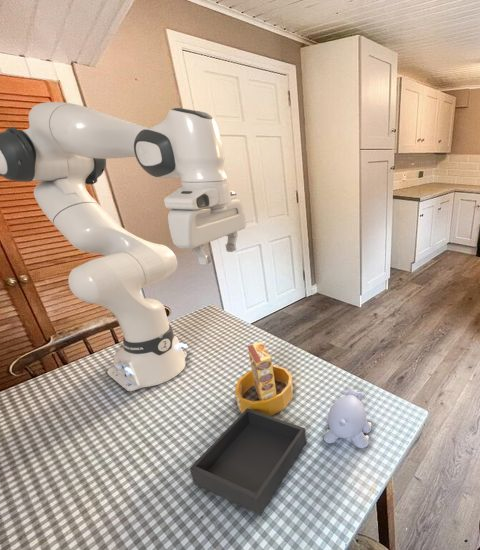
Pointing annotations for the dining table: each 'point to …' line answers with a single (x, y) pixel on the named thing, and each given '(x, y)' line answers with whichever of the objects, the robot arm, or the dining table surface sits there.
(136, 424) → the dining table surface
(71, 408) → the dining table surface
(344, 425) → the hippopotamus toy
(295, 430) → the bin
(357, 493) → the dining table surface
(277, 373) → the ring
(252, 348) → the candy box
